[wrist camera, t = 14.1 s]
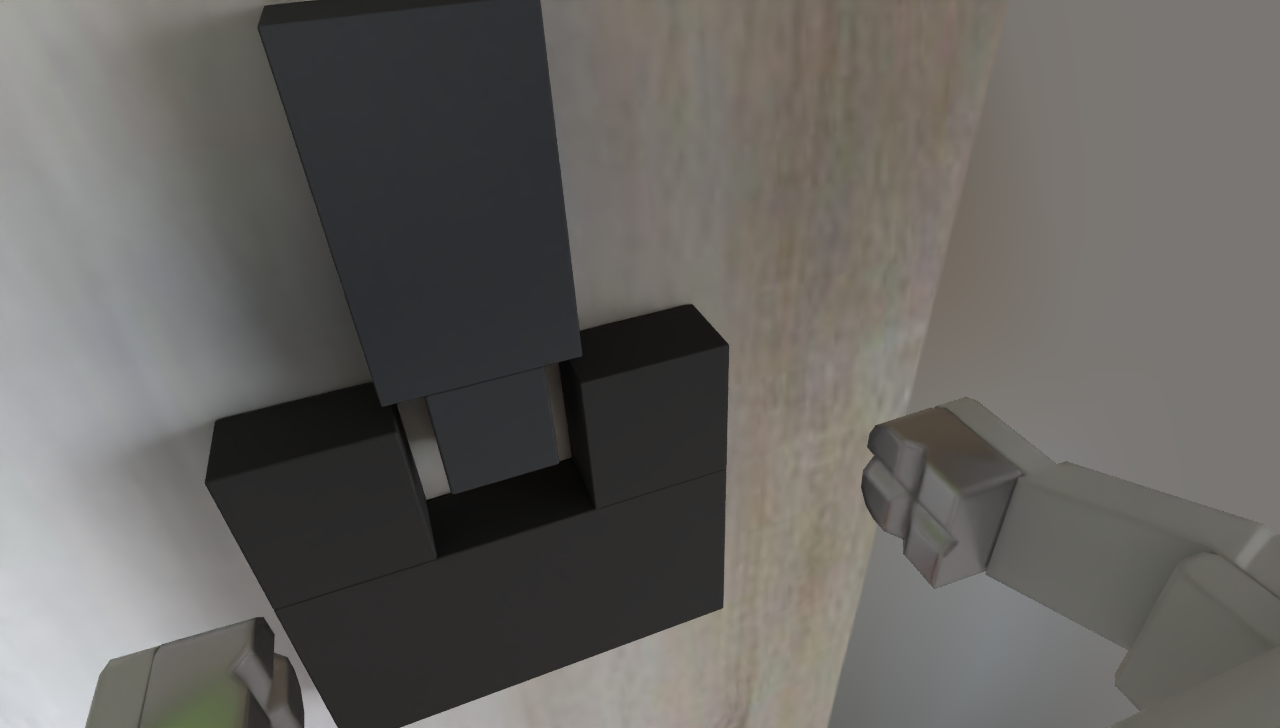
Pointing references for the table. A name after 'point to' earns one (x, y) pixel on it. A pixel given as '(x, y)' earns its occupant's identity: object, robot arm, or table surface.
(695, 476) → the black u-shaped block
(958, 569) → the robot arm
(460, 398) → the pad
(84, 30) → the table surface
